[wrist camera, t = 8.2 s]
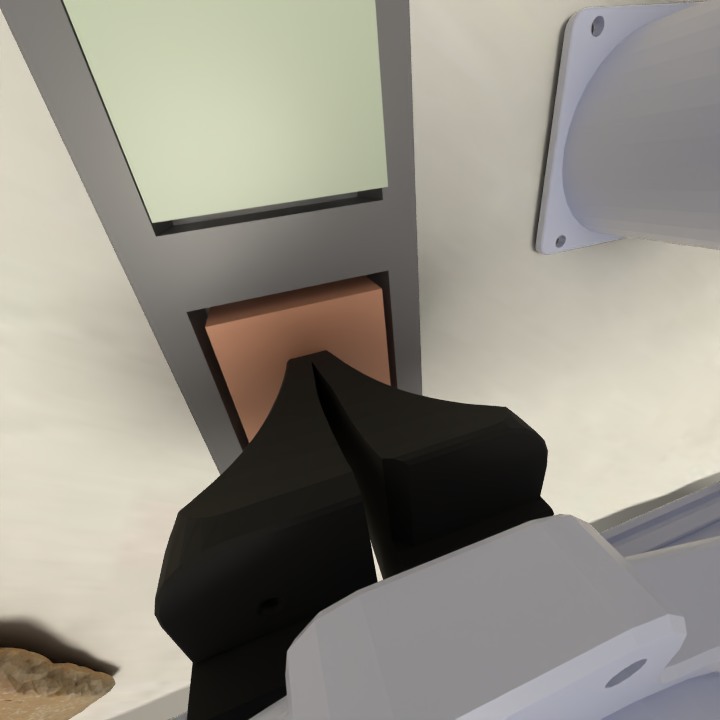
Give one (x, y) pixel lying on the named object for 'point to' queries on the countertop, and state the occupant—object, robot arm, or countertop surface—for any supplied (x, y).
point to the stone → (46, 687)
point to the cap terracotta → (296, 339)
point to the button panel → (237, 223)
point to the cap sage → (239, 98)
